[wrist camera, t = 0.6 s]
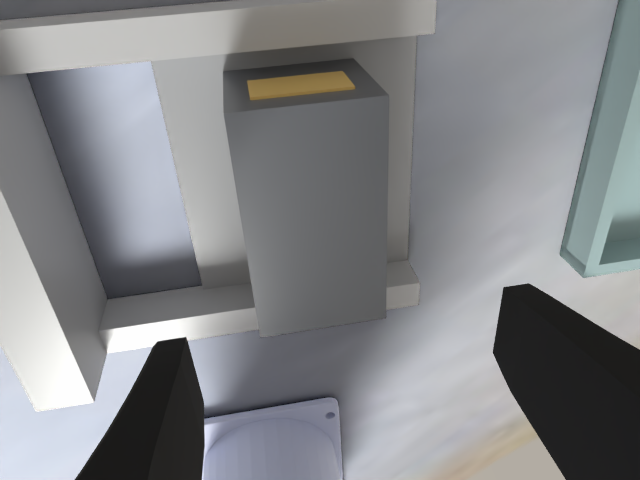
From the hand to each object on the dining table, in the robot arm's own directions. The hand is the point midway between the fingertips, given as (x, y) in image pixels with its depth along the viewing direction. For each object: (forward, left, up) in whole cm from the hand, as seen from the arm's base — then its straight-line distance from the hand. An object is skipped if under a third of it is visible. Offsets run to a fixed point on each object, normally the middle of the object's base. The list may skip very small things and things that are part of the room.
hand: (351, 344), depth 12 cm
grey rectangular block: (0, 0, -10) cm, 10 cm away
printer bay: (0, +3, -10) cm, 10 cm away
